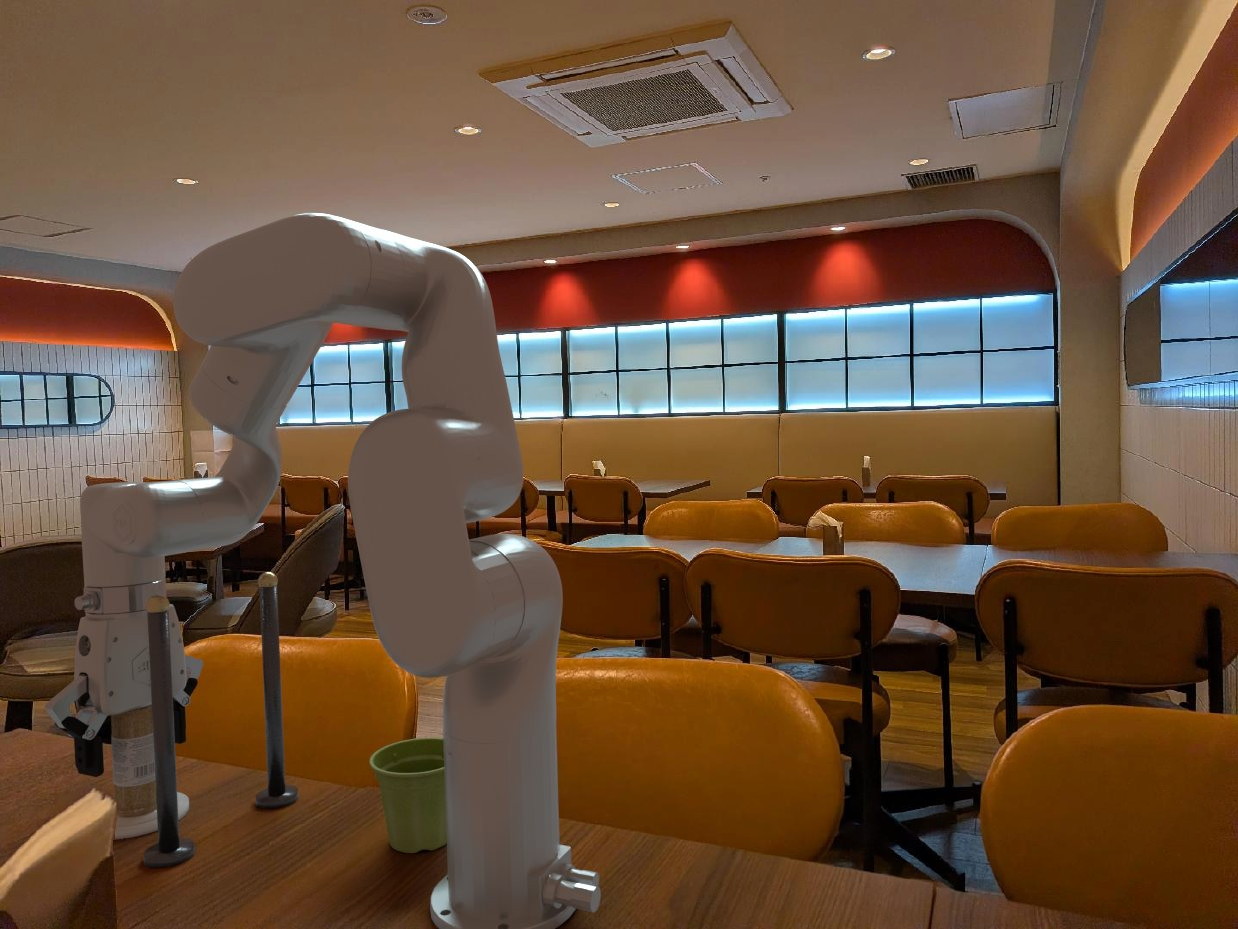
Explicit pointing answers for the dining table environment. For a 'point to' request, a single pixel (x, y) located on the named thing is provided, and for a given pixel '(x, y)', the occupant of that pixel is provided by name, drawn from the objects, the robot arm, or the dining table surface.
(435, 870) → the dining table surface
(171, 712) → the pair of dark posts
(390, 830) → the plant pot
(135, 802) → the sprinkles bottle
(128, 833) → the white round disc
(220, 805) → the dining table surface
